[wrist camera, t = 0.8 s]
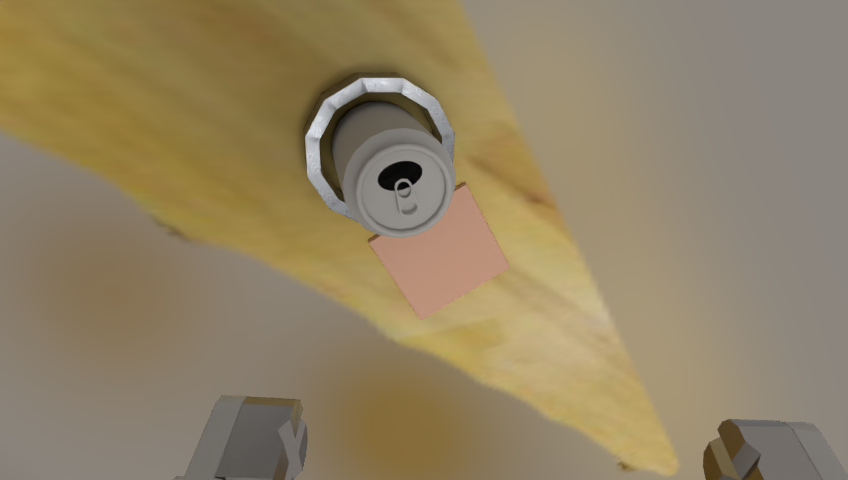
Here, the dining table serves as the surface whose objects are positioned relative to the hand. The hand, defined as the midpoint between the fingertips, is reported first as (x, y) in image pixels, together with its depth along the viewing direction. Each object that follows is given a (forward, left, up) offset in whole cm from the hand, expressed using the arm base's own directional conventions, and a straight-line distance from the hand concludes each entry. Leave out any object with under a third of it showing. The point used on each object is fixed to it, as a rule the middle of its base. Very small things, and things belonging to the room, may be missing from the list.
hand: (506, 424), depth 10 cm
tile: (+16, +1, -35) cm, 38 cm away
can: (+4, +1, -35) cm, 35 cm away
